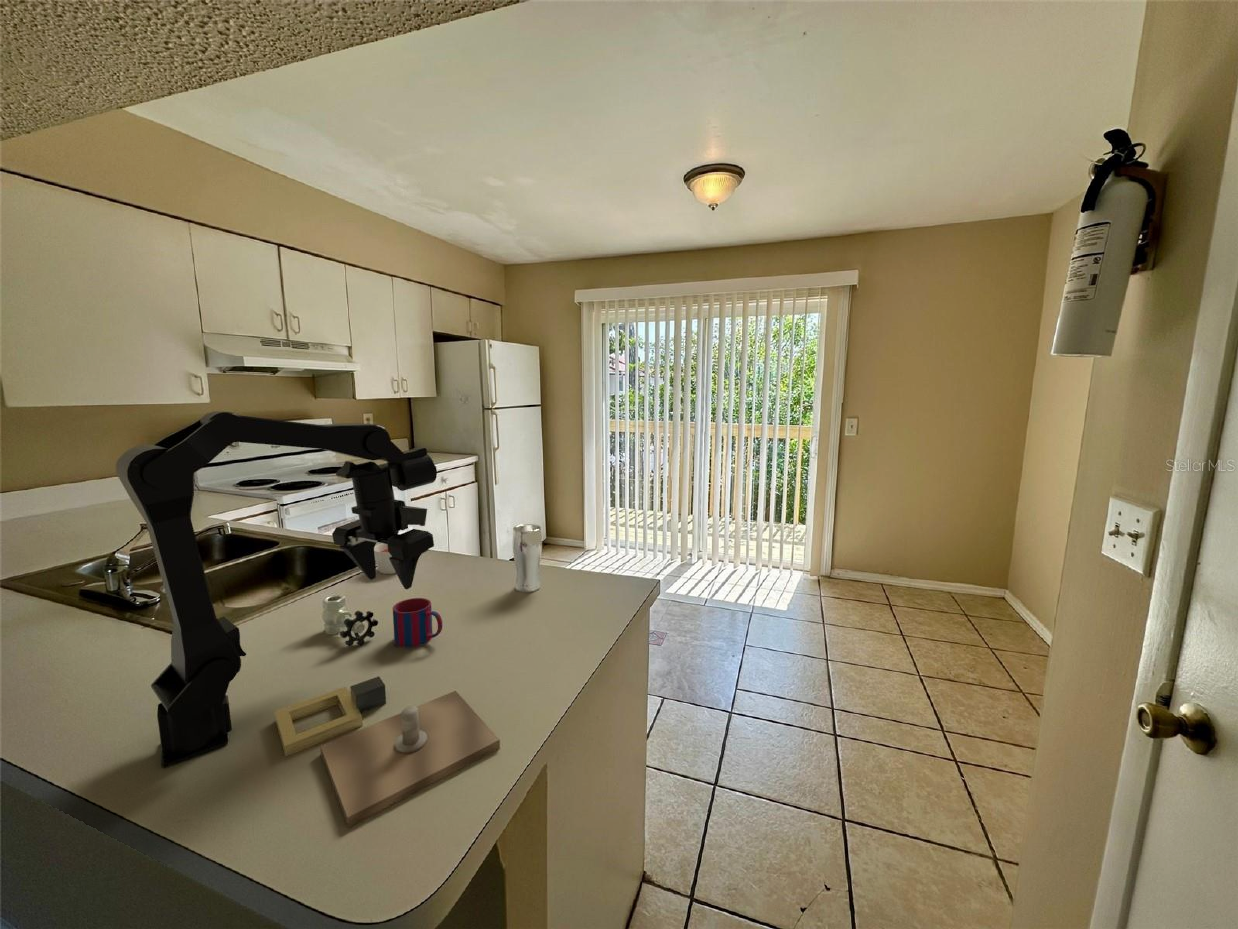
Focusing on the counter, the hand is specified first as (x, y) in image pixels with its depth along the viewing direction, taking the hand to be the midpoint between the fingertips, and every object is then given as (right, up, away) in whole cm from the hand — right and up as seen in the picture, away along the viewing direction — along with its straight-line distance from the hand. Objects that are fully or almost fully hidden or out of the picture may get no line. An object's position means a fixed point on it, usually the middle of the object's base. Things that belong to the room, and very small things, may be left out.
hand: (390, 583), depth 83 cm
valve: (-13, -13, +9) cm, 20 cm away
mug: (+2, -13, +7) cm, 15 cm away
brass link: (-1, -16, -14) cm, 21 cm away
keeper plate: (+13, -17, -21) cm, 30 cm away
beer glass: (+18, -9, +33) cm, 39 cm away
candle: (-20, -7, +43) cm, 48 cm away
